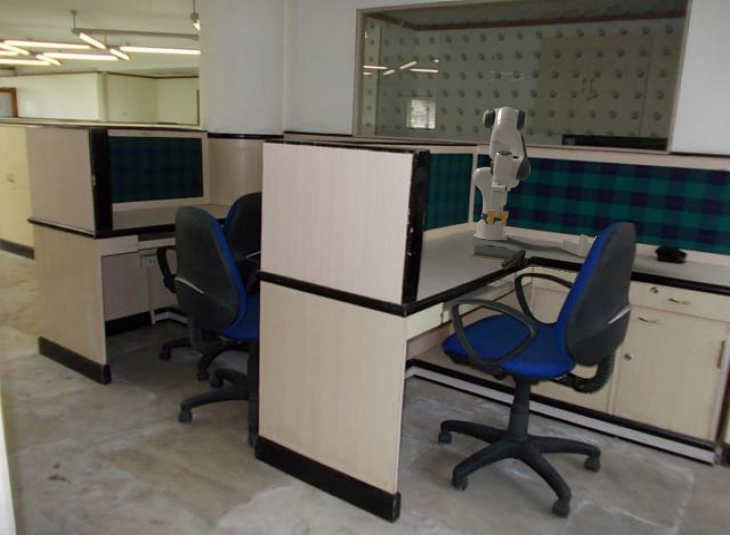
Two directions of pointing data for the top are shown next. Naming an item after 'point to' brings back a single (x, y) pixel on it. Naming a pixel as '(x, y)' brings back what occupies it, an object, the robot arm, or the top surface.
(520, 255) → the toy gun
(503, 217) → the orange arch block
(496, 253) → the rail board
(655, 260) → the top surface
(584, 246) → the tape dispenser
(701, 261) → the top surface
